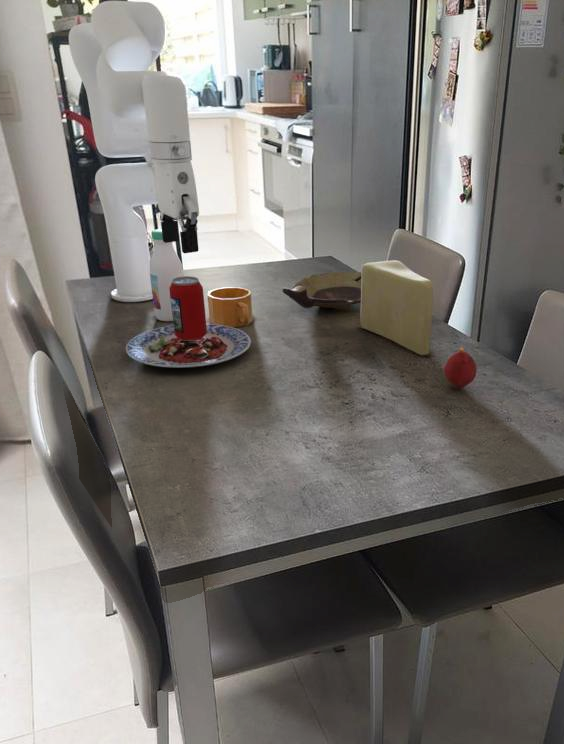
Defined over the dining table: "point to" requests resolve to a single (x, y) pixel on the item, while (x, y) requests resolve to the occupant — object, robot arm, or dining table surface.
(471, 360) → the onion
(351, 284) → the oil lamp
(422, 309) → the cheese
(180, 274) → the milk bottle
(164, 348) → the ceramic plate
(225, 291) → the mug
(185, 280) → the beverage can
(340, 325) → the dining table surface
